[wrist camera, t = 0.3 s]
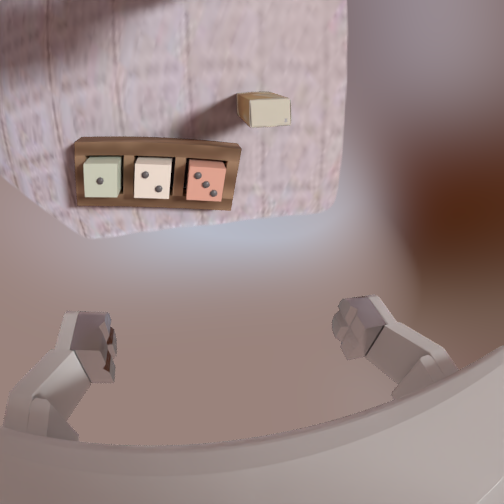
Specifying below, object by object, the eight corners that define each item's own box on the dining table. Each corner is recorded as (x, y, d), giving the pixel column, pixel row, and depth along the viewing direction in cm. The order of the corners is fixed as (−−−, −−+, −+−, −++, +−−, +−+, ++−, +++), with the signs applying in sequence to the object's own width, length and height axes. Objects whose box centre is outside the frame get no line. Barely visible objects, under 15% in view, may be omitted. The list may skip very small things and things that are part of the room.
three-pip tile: (189, 157, 49) (189, 166, 45) (222, 160, 51) (226, 169, 47) (185, 188, 53) (186, 200, 48) (217, 190, 54) (221, 202, 50)
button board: (81, 137, 43) (74, 142, 40) (237, 143, 52) (241, 149, 48) (83, 196, 50) (77, 205, 47) (227, 201, 58) (230, 210, 55)
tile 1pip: (91, 155, 44) (83, 164, 40) (122, 155, 46) (117, 164, 42) (92, 186, 48) (84, 197, 43) (122, 186, 49) (117, 197, 45)
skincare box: (269, 91, 47) (293, 97, 37) (270, 113, 50) (293, 126, 40) (234, 93, 46) (248, 99, 36) (235, 116, 49) (250, 128, 39)
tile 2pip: (138, 155, 47) (134, 164, 43) (172, 156, 49) (171, 165, 44) (137, 186, 50) (134, 198, 46) (169, 187, 52) (168, 199, 48)
